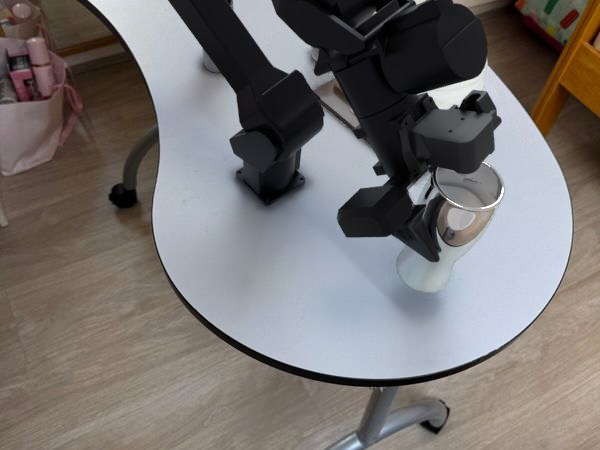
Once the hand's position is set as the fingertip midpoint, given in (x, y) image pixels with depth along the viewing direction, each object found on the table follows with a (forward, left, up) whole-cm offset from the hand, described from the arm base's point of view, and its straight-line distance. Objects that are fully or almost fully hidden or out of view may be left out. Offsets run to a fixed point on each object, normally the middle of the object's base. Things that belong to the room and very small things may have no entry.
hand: (453, 239), depth 58 cm
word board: (+16, +22, -9) cm, 29 cm away
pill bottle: (+18, +37, -10) cm, 42 cm away
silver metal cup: (0, +1, -7) cm, 7 cm away
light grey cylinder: (+4, +45, -10) cm, 46 cm away
